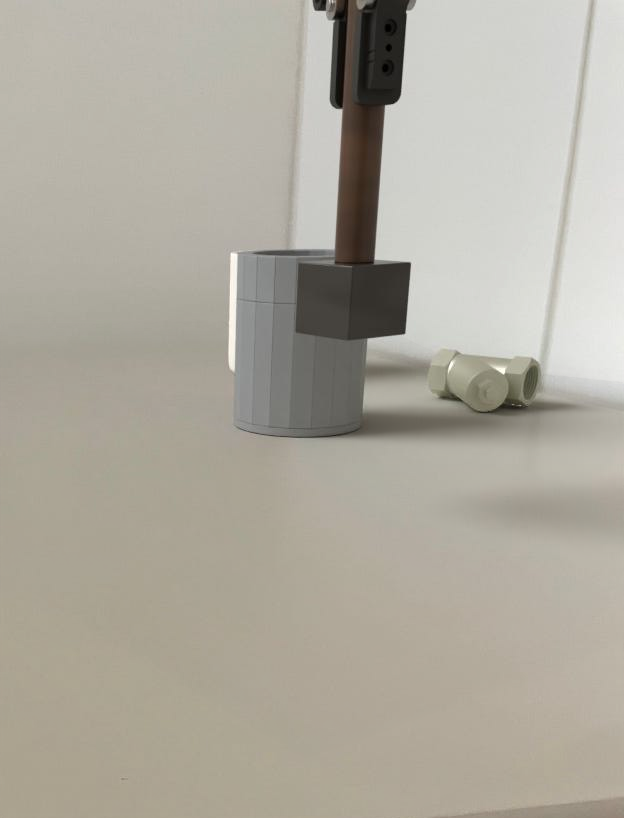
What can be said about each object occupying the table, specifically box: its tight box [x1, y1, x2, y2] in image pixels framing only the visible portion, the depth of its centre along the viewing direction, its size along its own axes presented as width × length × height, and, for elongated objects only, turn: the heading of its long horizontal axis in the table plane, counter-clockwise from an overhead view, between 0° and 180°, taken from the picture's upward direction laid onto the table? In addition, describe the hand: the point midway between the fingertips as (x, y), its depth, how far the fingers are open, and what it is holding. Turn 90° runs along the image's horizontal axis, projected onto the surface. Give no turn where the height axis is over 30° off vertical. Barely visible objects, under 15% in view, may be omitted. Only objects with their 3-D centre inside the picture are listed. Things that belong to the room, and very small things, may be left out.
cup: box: [233, 248, 369, 438], centre depth 78 cm, size 9×9×12 cm
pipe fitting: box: [427, 348, 542, 413], centre depth 85 cm, size 8×4×7 cm
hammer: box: [295, 0, 412, 341], centre depth 52 cm, size 4×4×16 cm
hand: (363, 105), depth 51 cm, fingers closed on hammer, 2 cm apart
